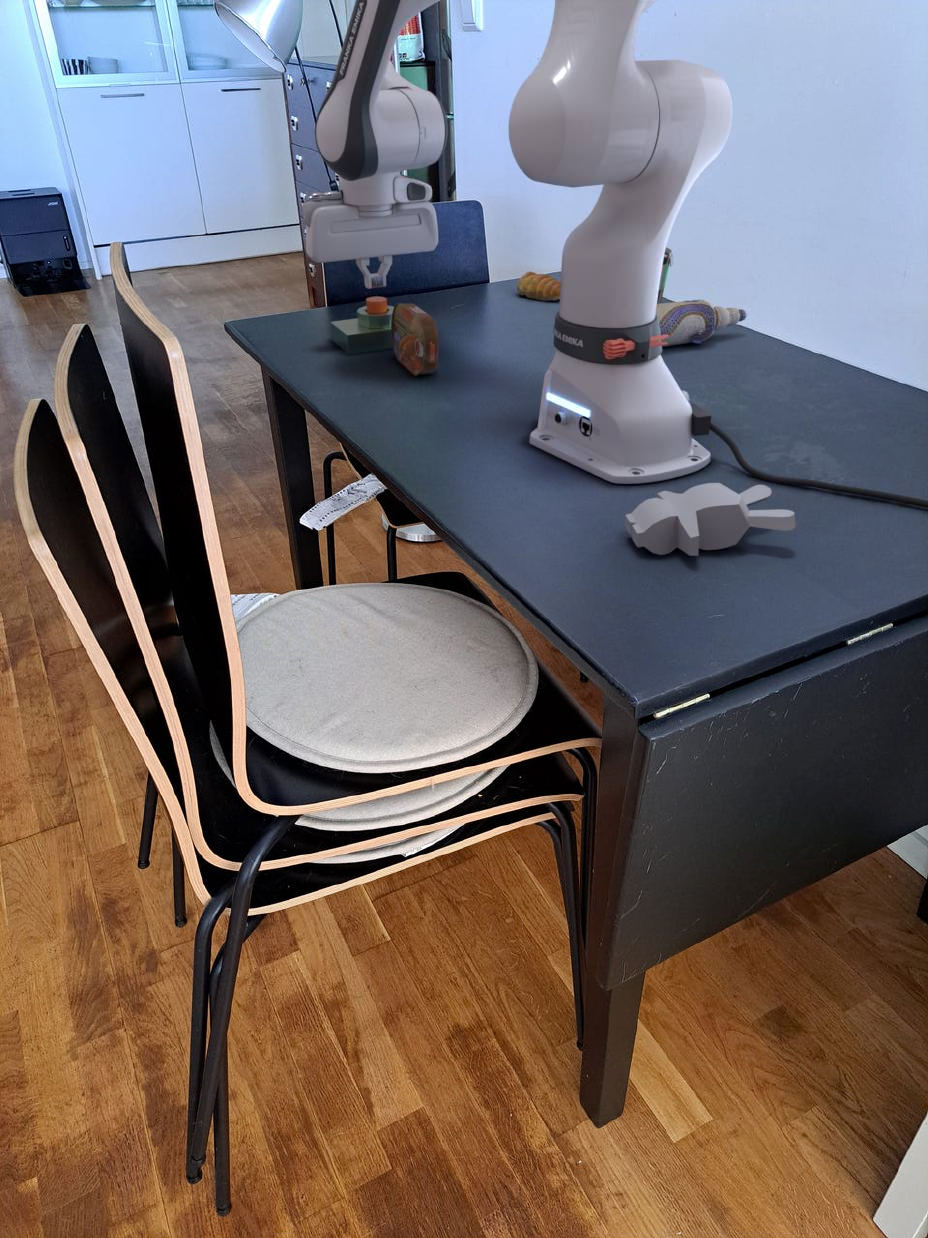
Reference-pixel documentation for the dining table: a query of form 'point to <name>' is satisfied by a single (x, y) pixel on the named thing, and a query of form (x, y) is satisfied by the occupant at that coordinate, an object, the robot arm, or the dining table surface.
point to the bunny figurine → (702, 518)
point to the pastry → (539, 286)
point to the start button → (376, 305)
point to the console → (364, 331)
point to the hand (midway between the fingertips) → (375, 286)
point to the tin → (414, 338)
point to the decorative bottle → (694, 320)
